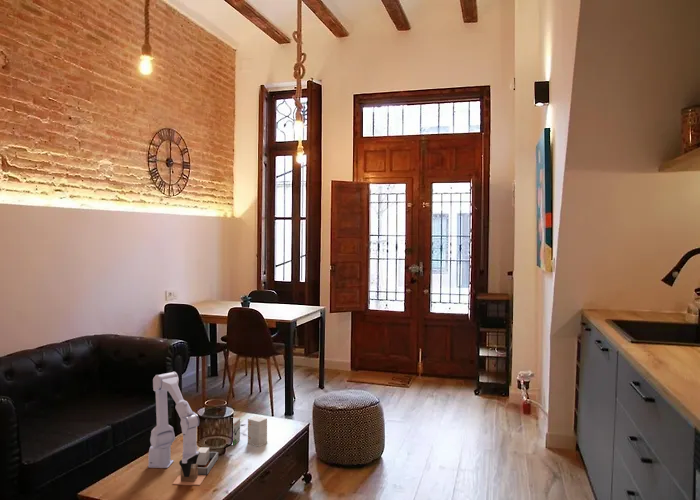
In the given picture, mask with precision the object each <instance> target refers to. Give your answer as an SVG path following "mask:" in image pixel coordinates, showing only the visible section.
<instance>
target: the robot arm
mask: <svg viewBox="0 0 700 500" xmlns="http://www.w3.org/2000/svg"><path fill="white" fill-rule="evenodd" d="M179 381H180V380H179V375H178V373H177V372H176V371H172V372H166V373H161V374H155V376H154V377H153V379H152V388H153V389H152V390H153V391H154V392H155V413H156V415H155V416H156V425H155V426H154V427H153V428H152V429H151V431H150V432H151V433H150V438H149V442H150V447H149V450H148V466H147V468H153V469H155V468H158V469H168V468H169V467H170V466H171V465H172V464H173V462H175V461H174V459H171V456H172V455H171V451H172V450H171V446H172V445H173V443H174V441H175V438H176V437H175V435H176V434H175V431H174V427H173V426H172V425H170V424H169V410H168V409H169V408H168V406H169V405H168V393H169V394H170V396H171V398H172V399H173V401H174V402H175V406H174V407H175V410H176V412H177V414H178V416H179V418H180V424H179V425H180V427H181V428H180V429H181V433H182V458H181V459H180V460H179V461H178V462H179V463H178V464H179V466H180V469H181V468H182V470H183V474H184V477H189V475H190V469H191V465H192V464H196V462H197V458H198V456H199V454H200V452H199V451H198V445H197V434H198V433H197V430H198V429H197V427H199V426H200V418H199V415H198V414H197V413H196V412H195V411H193V410H192V408H191V406H190V404H189V402H188V401H187V400H185V399H184V397H183V395H182V392H181V390H180V387H179Z"/></svg>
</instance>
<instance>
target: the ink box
mask: <svg viewBox="0 0 700 500" xmlns="http://www.w3.org/2000/svg"><path fill="white" fill-rule="evenodd" d="M232 418H233V447H234V446H235V445H236V444H237V443H238V442H239V441H240V440H241V418H239V417H232Z"/></svg>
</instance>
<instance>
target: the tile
mask: <svg viewBox="0 0 700 500" xmlns="http://www.w3.org/2000/svg"><path fill="white" fill-rule="evenodd" d="M206 477H207V475H199V474H198V477H197V479H196V480H195V482H182V481H181V473H180V474H179V475H178V476H177V477H176V479H174V481H173V483H172V486H173V485H176V486H201V484H202V483H203V481H204V480H205V479H206Z"/></svg>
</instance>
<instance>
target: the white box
mask: <svg viewBox="0 0 700 500" xmlns="http://www.w3.org/2000/svg"><path fill="white" fill-rule="evenodd" d="M197 451H199V452H200V454H199V456H198V458H197V462H196V464H198V466H206V465H207V464H208V463H209V461H210V458H209V452H210V447H199V448H198V449H197Z"/></svg>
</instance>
